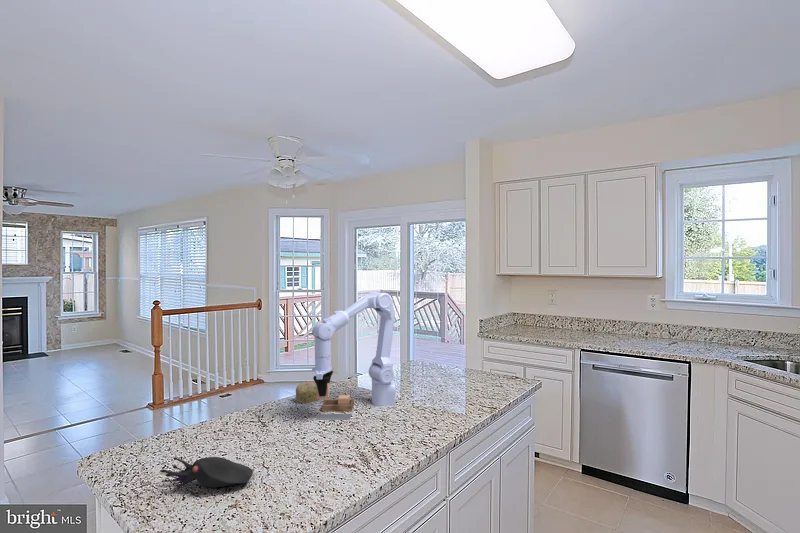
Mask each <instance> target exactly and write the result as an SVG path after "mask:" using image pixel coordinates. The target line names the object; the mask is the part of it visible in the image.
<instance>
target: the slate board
mask: <svg viewBox="0 0 800 533" xmlns="http://www.w3.org/2000/svg"><path fill="white" fill-rule="evenodd" d="M352 416H353V414H352V413H319V414H318V415H317V417H316V419H315V420H316V421H347V420H348V421H350V420H351V418H352Z"/></svg>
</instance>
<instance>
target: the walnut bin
mask: <svg viewBox="0 0 800 533" xmlns="http://www.w3.org/2000/svg"><path fill="white" fill-rule="evenodd" d="M354 405H355V399H354V398H350V405H338V398H335V399H331V398H330V399H329V398H328V399H324V401H323V402H322V404H321V412H323V413H326V412H329V413H331V412H339V413H340V412H344V413H345V412H352V411H353V408H354Z"/></svg>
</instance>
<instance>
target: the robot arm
mask: <svg viewBox="0 0 800 533" xmlns="http://www.w3.org/2000/svg"><path fill="white" fill-rule="evenodd" d="M393 301H394V299H393V297H392V296H391V295H390V294H389V293H387V292H379V291H374V290H373V291H369V292H368V293H366V294H364V295H363V296H362V297H361V298H360V299H358V300H357V301H355V303H353V304H352V305H350V306H349V307H348V308H346V309H345V310H344V311H343V310H341V309H340V310H335V311H333V314H331V315H329V317H326V318H323V319H322V321H319V322H316V323H315V324H314V325H313V327H312V329H311V335H312V336H313V337H314V367H311V372H315V375H314V376H313V377H312V378H313V381H314V383H315V384H316V385H317V388H318V393H319V396H326V391H327V384H328V383H330V384H331V382H330V381H331V378H332V375H333V373H334V371H333V367H332V344H331V342H332V341H331V339H332V337H333V336H334V333H336V332H337V331H338V330H341V328H343V327H345V326H346V325H348V324H349V321H350V319H351V318H353V317H354V316H357V315H358V314H359V313H361V312H363V311H364V310H366V309H373V310H375V312H377V313H378V315H379V316H380V321H379V326H378V328H379V330H378V335H377V343H376V344H377V345H376V351H375V352H376V353H375V357H373V359H372V360H371V365H370V366H369V368H368V375H369V377H370V378H371V403H372V405H373V406H376V407H387V406H388V407H390V406H393V407H394V406H396V402H397V395H396V394H397V393H396V392H397V391H396V390H397V389H396V388H397V387H396V381H393V379H394V377H395V376H394V375H395V374H394V372H395V371H394V369H393V368H394V364H393V362H392V360H391V358H390V357H391V350H392V344H393V343H392V341H393V334H394V333H393V332H394V324H395V319H396V318H395V317H396V310H395V307H394V302H393Z"/></svg>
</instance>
